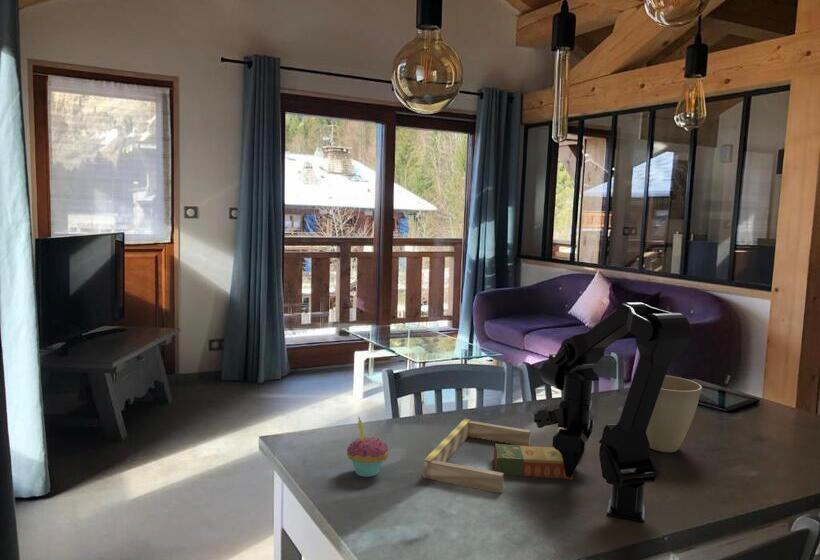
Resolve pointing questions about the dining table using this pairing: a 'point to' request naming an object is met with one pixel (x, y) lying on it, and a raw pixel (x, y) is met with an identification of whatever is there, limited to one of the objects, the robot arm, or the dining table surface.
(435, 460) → the dock bay
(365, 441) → the cupcake
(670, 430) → the plant pot
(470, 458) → the dining table surface
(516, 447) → the carton
